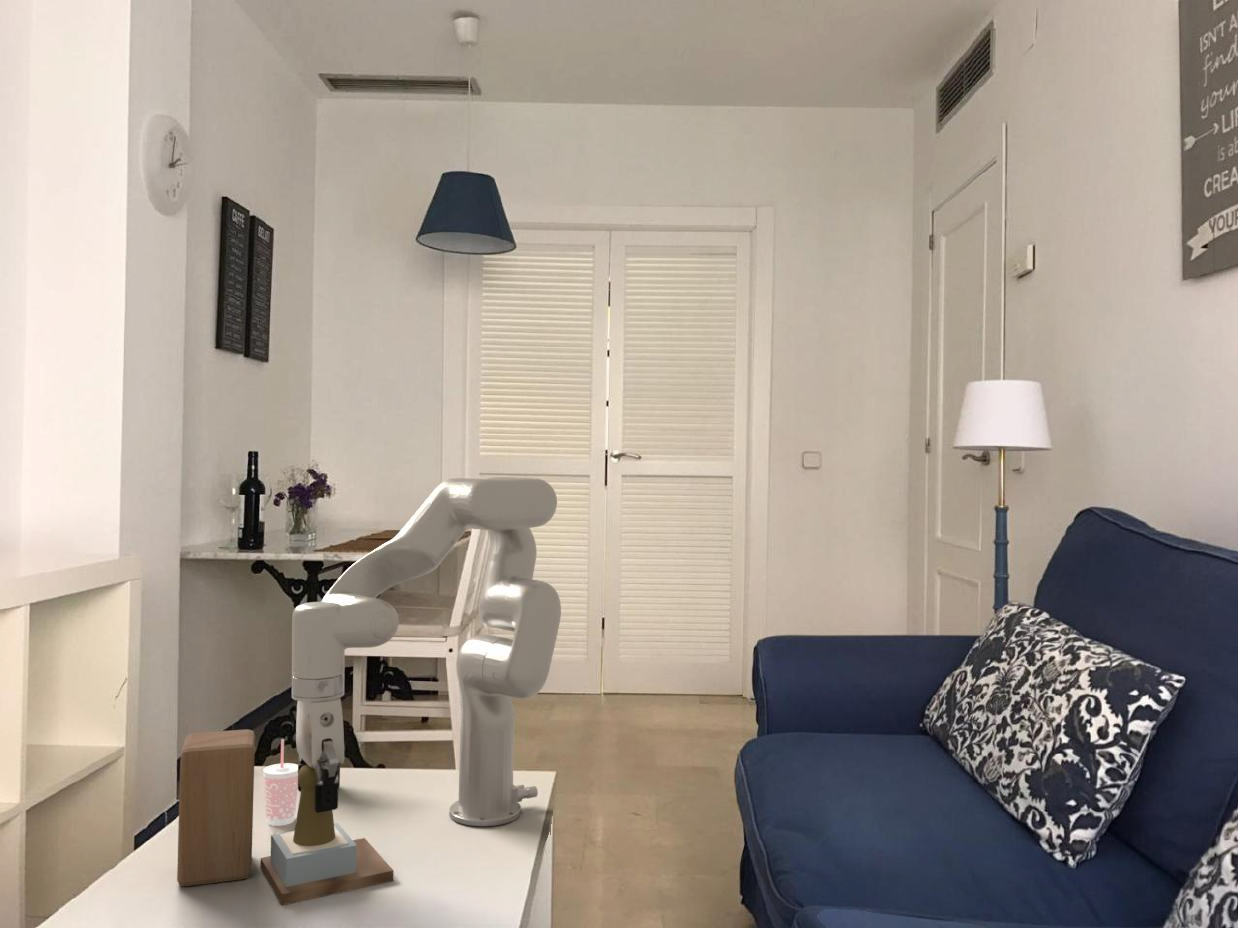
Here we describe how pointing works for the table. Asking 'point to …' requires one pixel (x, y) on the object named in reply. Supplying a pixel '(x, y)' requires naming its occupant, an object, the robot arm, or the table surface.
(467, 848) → the table surface
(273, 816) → the beverage cup
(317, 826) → the olive pawn
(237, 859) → the block
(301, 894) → the brown board
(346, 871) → the slate plinth
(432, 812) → the table surface
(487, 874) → the table surface
